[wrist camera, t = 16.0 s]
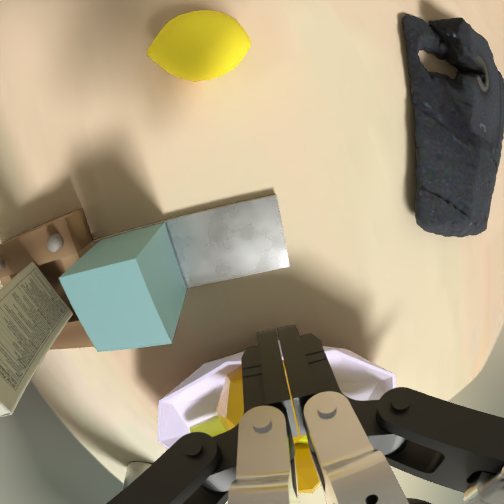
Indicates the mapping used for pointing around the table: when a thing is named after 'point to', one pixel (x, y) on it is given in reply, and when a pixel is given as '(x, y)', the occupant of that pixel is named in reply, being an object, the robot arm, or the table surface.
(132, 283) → the teal block
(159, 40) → the lemon
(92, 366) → the table surface
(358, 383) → the fruit bowl
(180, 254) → the rail
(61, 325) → the skincare box
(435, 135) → the holed black stone slab
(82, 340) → the socket block
